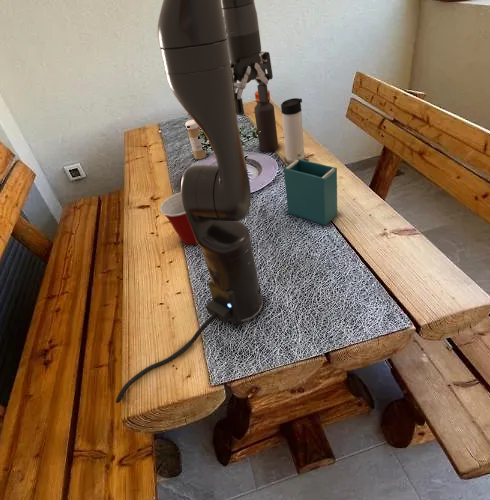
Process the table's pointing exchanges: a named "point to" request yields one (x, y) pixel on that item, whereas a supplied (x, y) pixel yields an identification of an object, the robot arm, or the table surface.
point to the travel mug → (293, 129)
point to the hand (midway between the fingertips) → (252, 107)
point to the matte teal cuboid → (311, 191)
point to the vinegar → (266, 124)
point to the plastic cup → (178, 218)
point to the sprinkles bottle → (195, 139)
